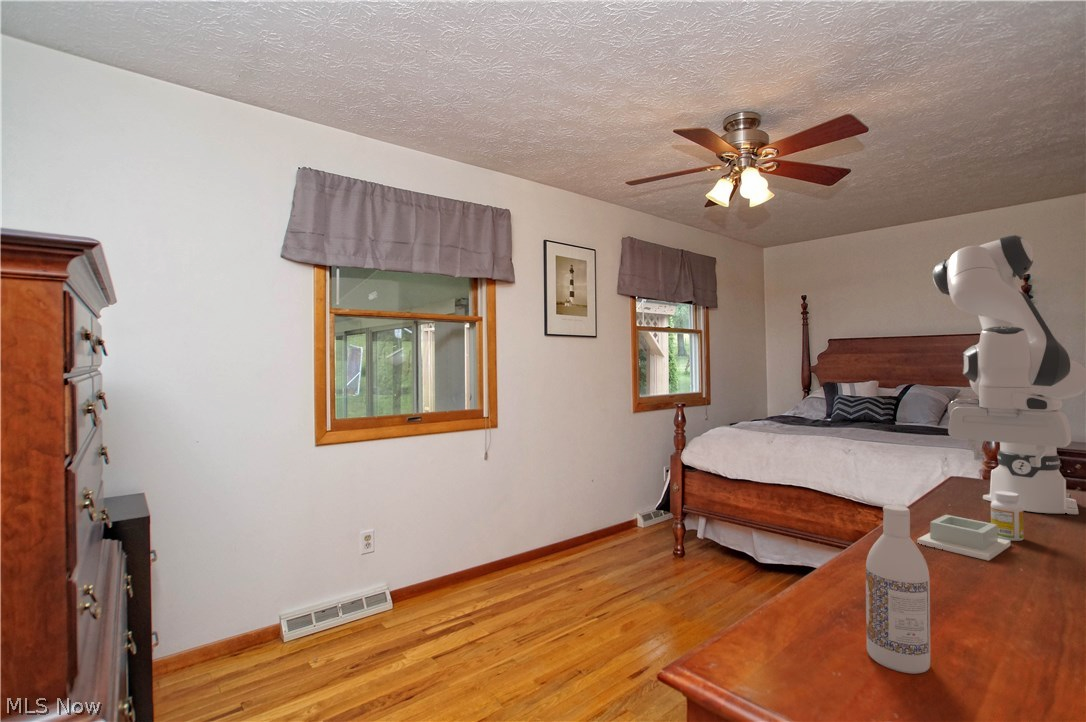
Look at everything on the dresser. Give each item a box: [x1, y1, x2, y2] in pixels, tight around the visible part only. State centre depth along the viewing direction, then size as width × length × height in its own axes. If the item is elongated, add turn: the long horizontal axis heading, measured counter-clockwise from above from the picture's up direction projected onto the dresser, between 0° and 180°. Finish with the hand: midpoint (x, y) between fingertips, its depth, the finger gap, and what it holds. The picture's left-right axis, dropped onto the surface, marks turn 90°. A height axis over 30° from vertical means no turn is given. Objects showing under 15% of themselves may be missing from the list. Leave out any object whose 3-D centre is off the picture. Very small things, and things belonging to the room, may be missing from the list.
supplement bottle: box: [990, 491, 1025, 542], centre depth 116 cm, size 5×5×10 cm
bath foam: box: [865, 504, 931, 675], centre depth 69 cm, size 7×7×20 cm
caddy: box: [916, 514, 1012, 561], centre depth 111 cm, size 14×12×4 cm
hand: (1006, 463), depth 115 cm, fingers open, 8 cm apart
